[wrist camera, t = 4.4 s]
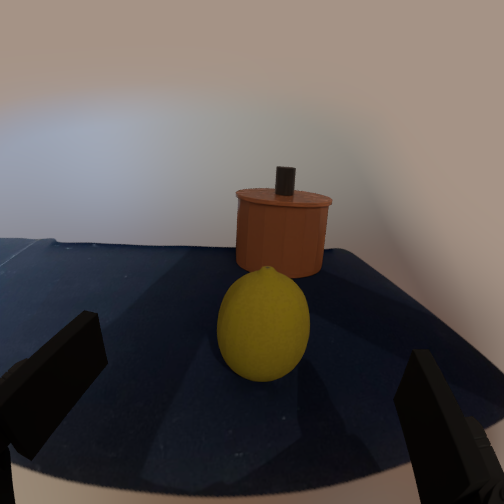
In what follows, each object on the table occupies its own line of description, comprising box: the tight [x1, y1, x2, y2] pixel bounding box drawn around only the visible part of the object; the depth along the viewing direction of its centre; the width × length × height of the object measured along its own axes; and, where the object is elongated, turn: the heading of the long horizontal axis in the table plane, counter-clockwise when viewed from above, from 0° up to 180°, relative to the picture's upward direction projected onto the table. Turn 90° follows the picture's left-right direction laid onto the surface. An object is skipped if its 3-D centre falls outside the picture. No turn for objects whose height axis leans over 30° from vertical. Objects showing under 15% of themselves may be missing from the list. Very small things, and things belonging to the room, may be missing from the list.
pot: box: [236, 198, 329, 278], centre depth 41 cm, size 11×11×8 cm
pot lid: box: [236, 166, 332, 207], centre depth 39 cm, size 12×12×5 cm
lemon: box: [217, 266, 310, 382], centre depth 19 cm, size 6×6×8 cm
